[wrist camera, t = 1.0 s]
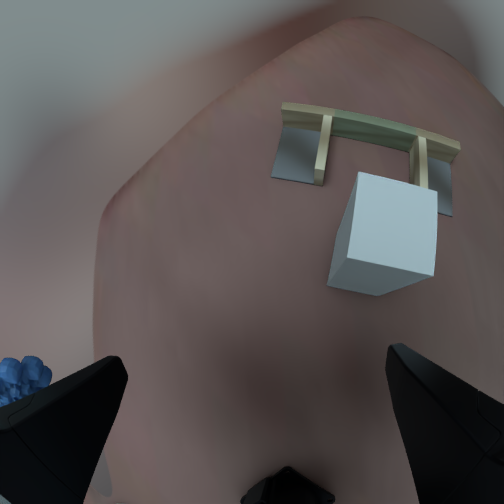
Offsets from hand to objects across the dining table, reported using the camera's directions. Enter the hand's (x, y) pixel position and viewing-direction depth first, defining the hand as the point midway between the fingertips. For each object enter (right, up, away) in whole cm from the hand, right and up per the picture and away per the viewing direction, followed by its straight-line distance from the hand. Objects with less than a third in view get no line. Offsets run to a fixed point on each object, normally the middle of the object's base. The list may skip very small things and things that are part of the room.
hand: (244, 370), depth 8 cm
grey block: (+9, +3, +15) cm, 17 cm away
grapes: (-25, -14, +17) cm, 33 cm away
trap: (+11, +11, +16) cm, 23 cm away
